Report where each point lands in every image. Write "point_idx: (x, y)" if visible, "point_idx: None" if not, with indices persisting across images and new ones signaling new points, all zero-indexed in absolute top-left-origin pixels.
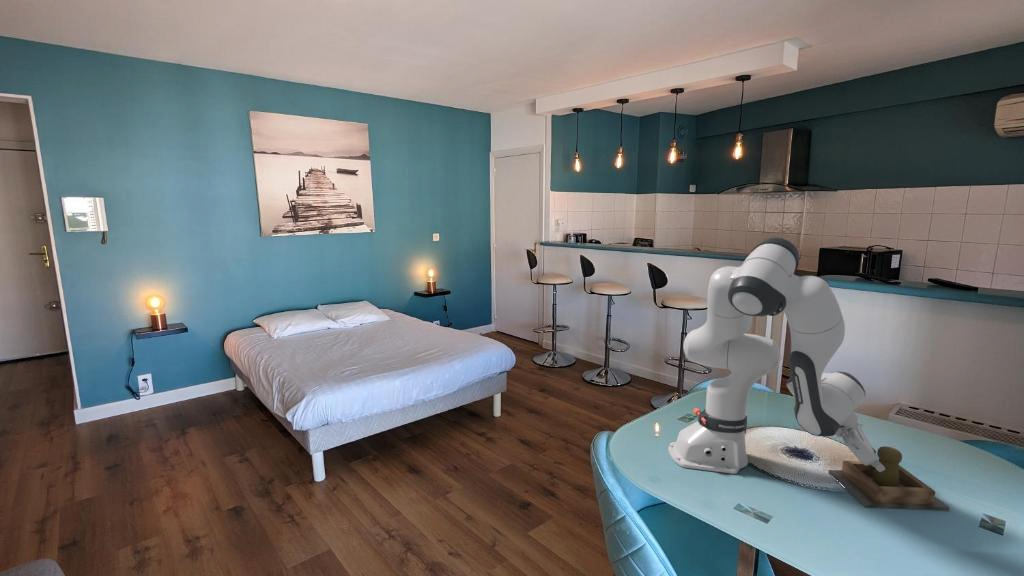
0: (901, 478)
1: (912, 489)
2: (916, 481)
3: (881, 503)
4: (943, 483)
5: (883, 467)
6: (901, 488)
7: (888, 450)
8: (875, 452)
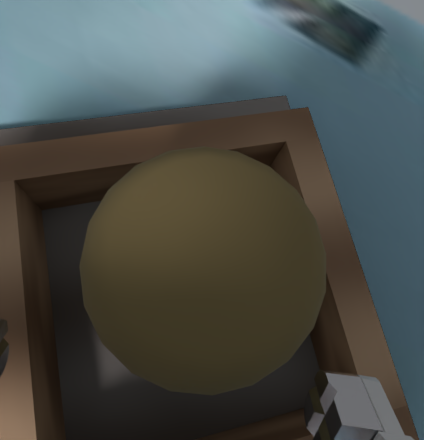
0: (110, 186)
1: (331, 215)
2: (221, 147)
3: None
4: (39, 6)
5: (382, 396)
6: (344, 275)
7: (272, 293)
8: (3, 325)
